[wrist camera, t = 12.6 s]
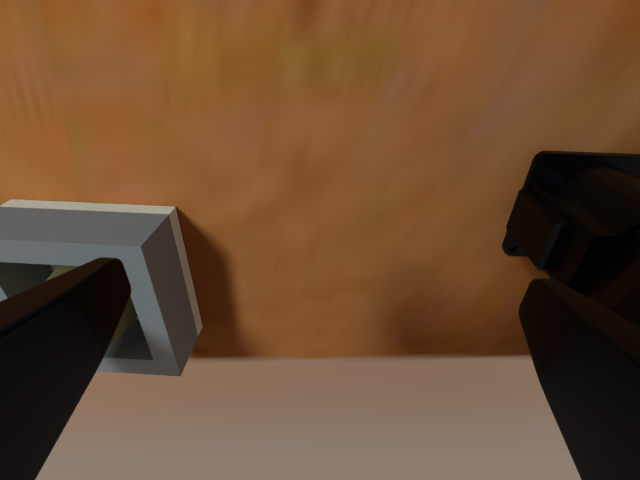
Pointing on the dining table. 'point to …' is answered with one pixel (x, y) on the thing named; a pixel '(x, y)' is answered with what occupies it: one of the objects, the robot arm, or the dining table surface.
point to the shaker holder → (139, 262)
